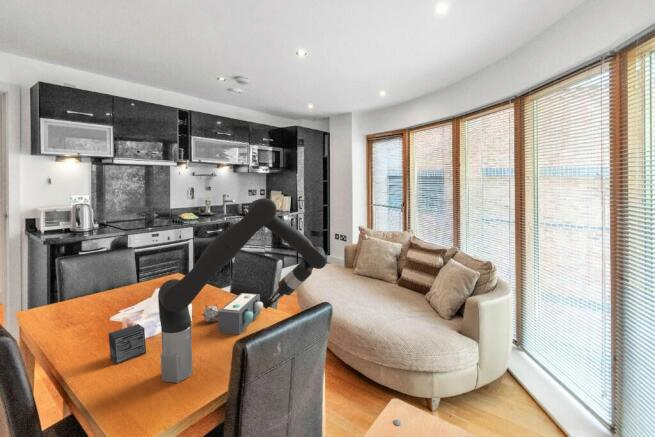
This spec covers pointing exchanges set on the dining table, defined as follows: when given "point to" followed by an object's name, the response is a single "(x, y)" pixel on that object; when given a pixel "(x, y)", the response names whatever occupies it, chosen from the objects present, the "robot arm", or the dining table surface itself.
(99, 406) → the dining table surface
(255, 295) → the console
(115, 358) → the small box
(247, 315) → the teal button
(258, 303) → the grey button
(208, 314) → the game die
